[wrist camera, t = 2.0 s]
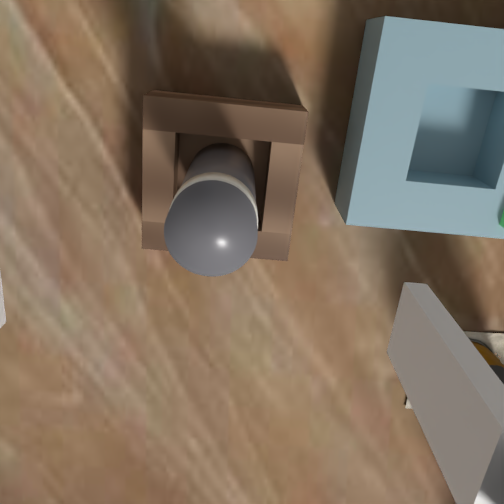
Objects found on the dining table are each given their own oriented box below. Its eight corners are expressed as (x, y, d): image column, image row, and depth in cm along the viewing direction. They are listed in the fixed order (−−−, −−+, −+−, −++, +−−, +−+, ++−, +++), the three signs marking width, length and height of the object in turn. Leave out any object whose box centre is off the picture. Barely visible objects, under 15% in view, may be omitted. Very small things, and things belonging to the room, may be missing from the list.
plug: (190, 138, 29) (163, 183, 20) (258, 145, 29) (263, 192, 20) (187, 203, 30) (161, 273, 21) (251, 209, 31) (253, 281, 21)
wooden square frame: (153, 90, 29) (142, 95, 26) (302, 105, 29) (308, 112, 26) (151, 229, 32) (141, 248, 29) (283, 241, 33) (287, 261, 30)
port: (366, 19, 27) (388, 15, 23) (552, 40, 28) (607, 39, 24) (334, 203, 32) (347, 228, 27) (496, 218, 32) (533, 244, 28)
